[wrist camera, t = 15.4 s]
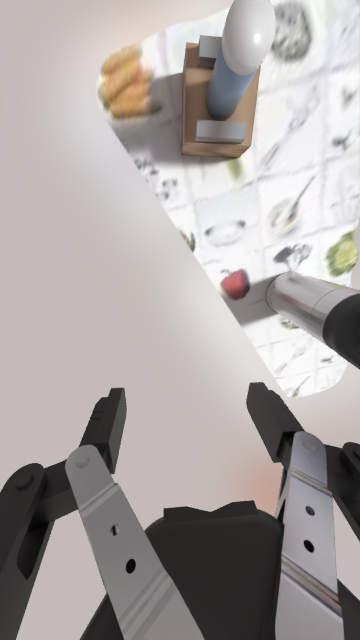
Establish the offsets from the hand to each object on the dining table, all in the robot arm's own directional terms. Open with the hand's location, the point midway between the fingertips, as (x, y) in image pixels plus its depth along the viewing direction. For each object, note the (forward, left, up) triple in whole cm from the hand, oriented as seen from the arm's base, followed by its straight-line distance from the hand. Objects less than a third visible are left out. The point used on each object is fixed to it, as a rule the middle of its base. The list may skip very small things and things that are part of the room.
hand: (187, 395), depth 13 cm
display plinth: (-7, -27, -32) cm, 43 cm away
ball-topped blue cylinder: (-7, -27, -27) cm, 39 cm away
